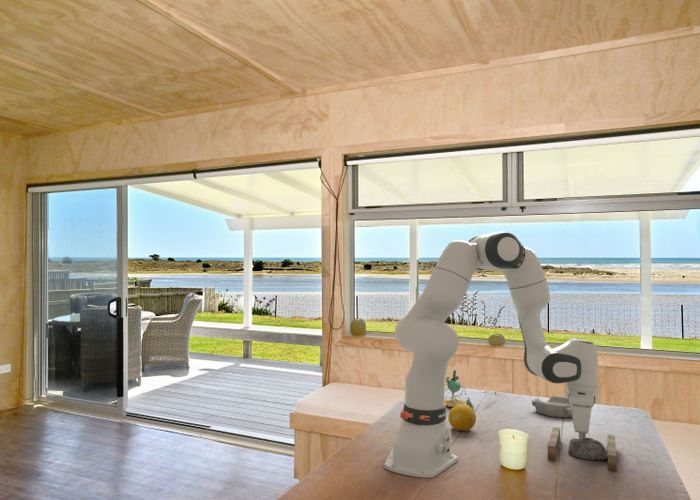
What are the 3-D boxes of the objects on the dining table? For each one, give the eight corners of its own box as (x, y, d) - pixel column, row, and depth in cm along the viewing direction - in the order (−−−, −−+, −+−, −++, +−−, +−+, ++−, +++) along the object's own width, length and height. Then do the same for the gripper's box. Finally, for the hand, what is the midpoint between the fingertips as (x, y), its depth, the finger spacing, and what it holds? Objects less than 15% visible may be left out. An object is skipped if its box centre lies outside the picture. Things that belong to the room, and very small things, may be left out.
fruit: (447, 432, 162) (447, 407, 163) (449, 424, 170) (449, 401, 170) (475, 435, 160) (475, 409, 160) (476, 427, 167) (476, 403, 168)
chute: (616, 471, 132) (616, 456, 132) (547, 459, 140) (547, 445, 140) (615, 449, 148) (614, 435, 149) (553, 439, 156) (553, 426, 156)
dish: (528, 412, 186) (528, 398, 186) (547, 405, 194) (547, 392, 195) (566, 422, 174) (566, 407, 175) (584, 414, 183) (584, 400, 183)
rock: (579, 446, 150) (579, 432, 151) (614, 458, 141) (614, 444, 141) (560, 451, 146) (560, 437, 146) (594, 465, 137) (594, 450, 137)
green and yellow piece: (458, 414, 182) (455, 373, 184) (432, 407, 198) (430, 368, 200) (480, 411, 186) (477, 370, 187) (453, 404, 202) (450, 366, 204)
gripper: (572, 384, 162) (572, 427, 161) (569, 399, 143) (569, 448, 143) (594, 386, 159) (594, 430, 159) (593, 402, 141) (593, 452, 140)
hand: (582, 439), depth 151 cm, fingers closed
